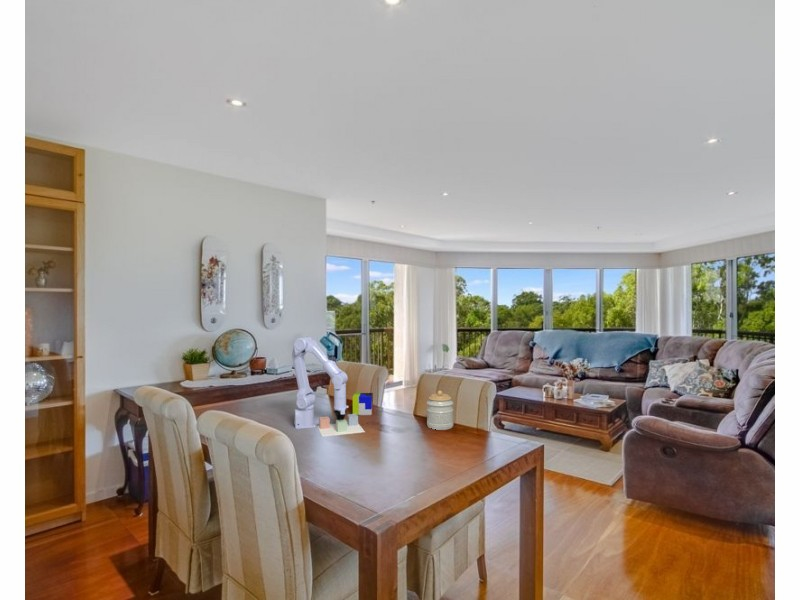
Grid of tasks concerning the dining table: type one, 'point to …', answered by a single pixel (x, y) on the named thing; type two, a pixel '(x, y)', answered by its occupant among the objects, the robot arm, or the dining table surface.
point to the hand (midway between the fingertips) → (340, 425)
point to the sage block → (341, 425)
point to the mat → (333, 431)
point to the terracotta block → (324, 422)
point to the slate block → (352, 419)
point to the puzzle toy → (363, 403)
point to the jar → (440, 411)
